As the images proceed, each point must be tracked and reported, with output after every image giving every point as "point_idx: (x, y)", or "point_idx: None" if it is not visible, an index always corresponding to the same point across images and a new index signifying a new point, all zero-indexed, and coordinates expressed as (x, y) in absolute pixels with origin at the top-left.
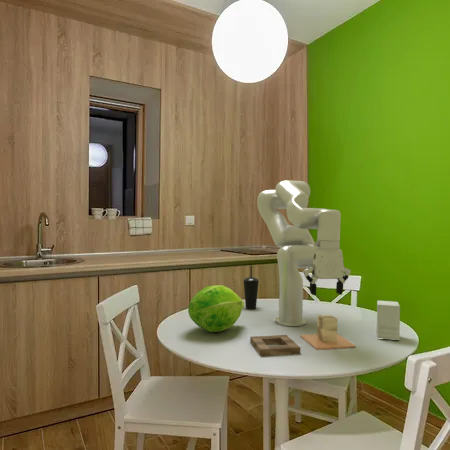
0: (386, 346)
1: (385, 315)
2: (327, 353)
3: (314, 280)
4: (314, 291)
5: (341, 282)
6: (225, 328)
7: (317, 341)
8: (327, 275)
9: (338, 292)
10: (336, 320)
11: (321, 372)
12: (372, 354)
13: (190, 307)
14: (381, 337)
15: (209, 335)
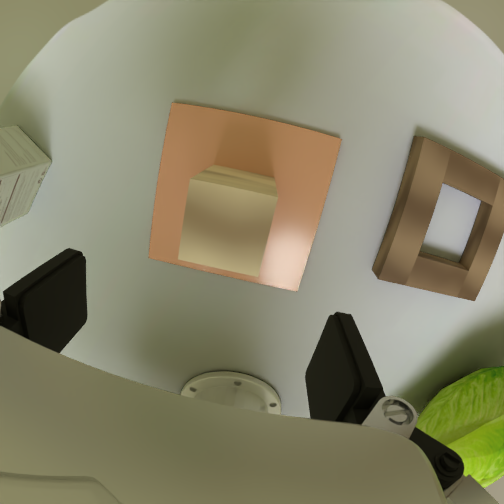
0: (72, 90)
1: None
2: (324, 91)
3: (391, 429)
4: (358, 333)
5: (3, 317)
6: (467, 375)
7: (286, 200)
8: (209, 455)
9: (80, 289)
10: (197, 177)
11: (432, 3)
12: (171, 30)
13: None
14: (41, 154)
15: (487, 364)
